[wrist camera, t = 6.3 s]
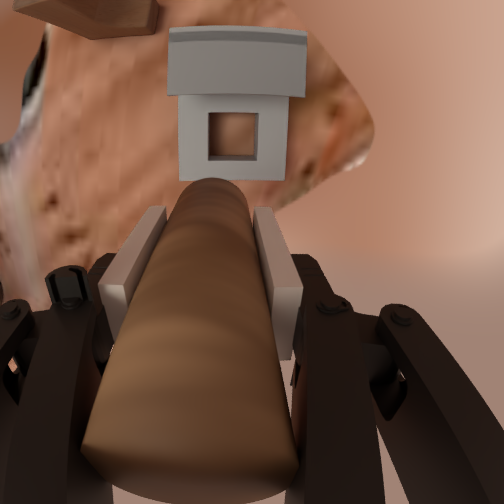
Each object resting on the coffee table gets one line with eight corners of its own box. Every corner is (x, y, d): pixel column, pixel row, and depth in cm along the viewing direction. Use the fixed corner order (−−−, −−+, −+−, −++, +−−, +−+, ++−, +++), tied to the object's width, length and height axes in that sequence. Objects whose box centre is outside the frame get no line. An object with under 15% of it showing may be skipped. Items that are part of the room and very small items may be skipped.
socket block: (183, 173, 37) (169, 198, 28) (184, 49, 30) (169, 27, 20) (278, 173, 38) (298, 197, 29) (283, 51, 31) (307, 31, 22)
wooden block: (160, 4, 27) (118, -59, 11) (155, 35, 29) (104, -14, 13) (95, 10, 26) (22, -32, 10) (89, 40, 28) (9, 11, 12)
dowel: (177, 245, 17) (118, 497, 5) (174, 177, 16) (43, 409, 3) (247, 246, 18) (284, 503, 5) (250, 178, 16) (323, 426, 4)
